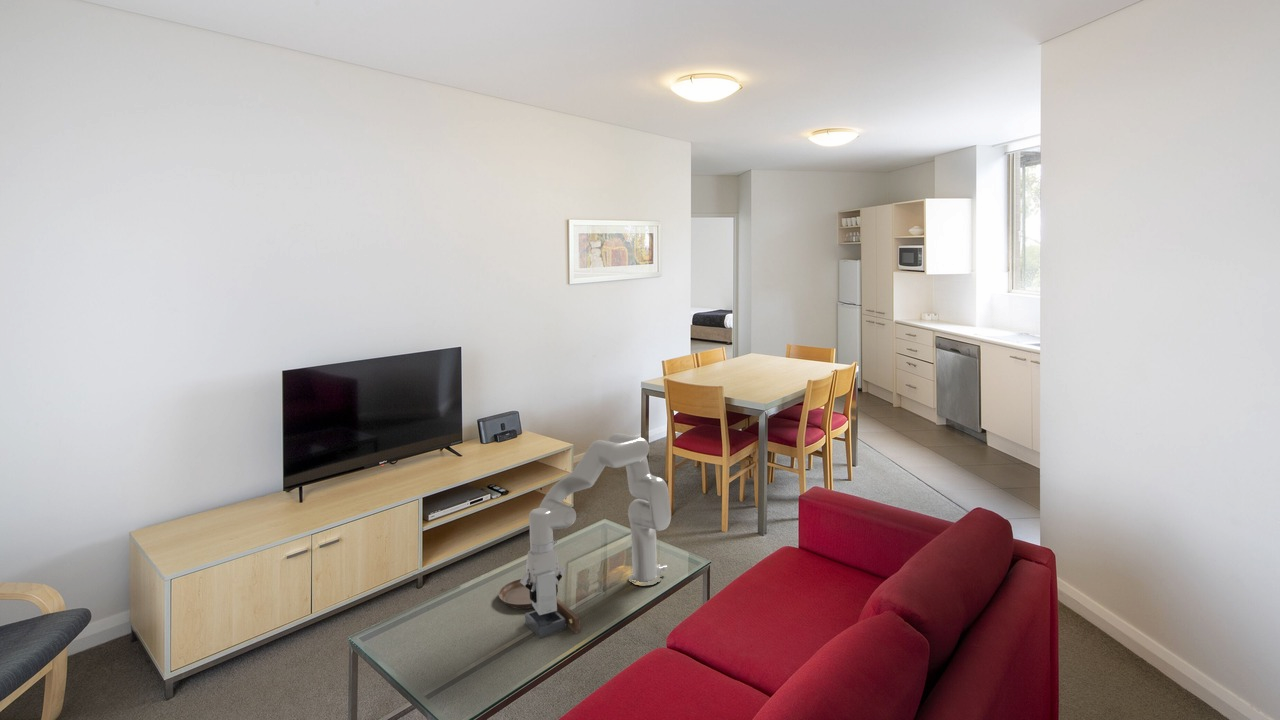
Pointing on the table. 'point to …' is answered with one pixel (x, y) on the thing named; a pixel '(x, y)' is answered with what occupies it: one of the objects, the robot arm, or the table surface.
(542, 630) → the gray square tray
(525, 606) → the plant saucer
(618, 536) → the table surface
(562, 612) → the brown l-shaped wood piece
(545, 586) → the small box
